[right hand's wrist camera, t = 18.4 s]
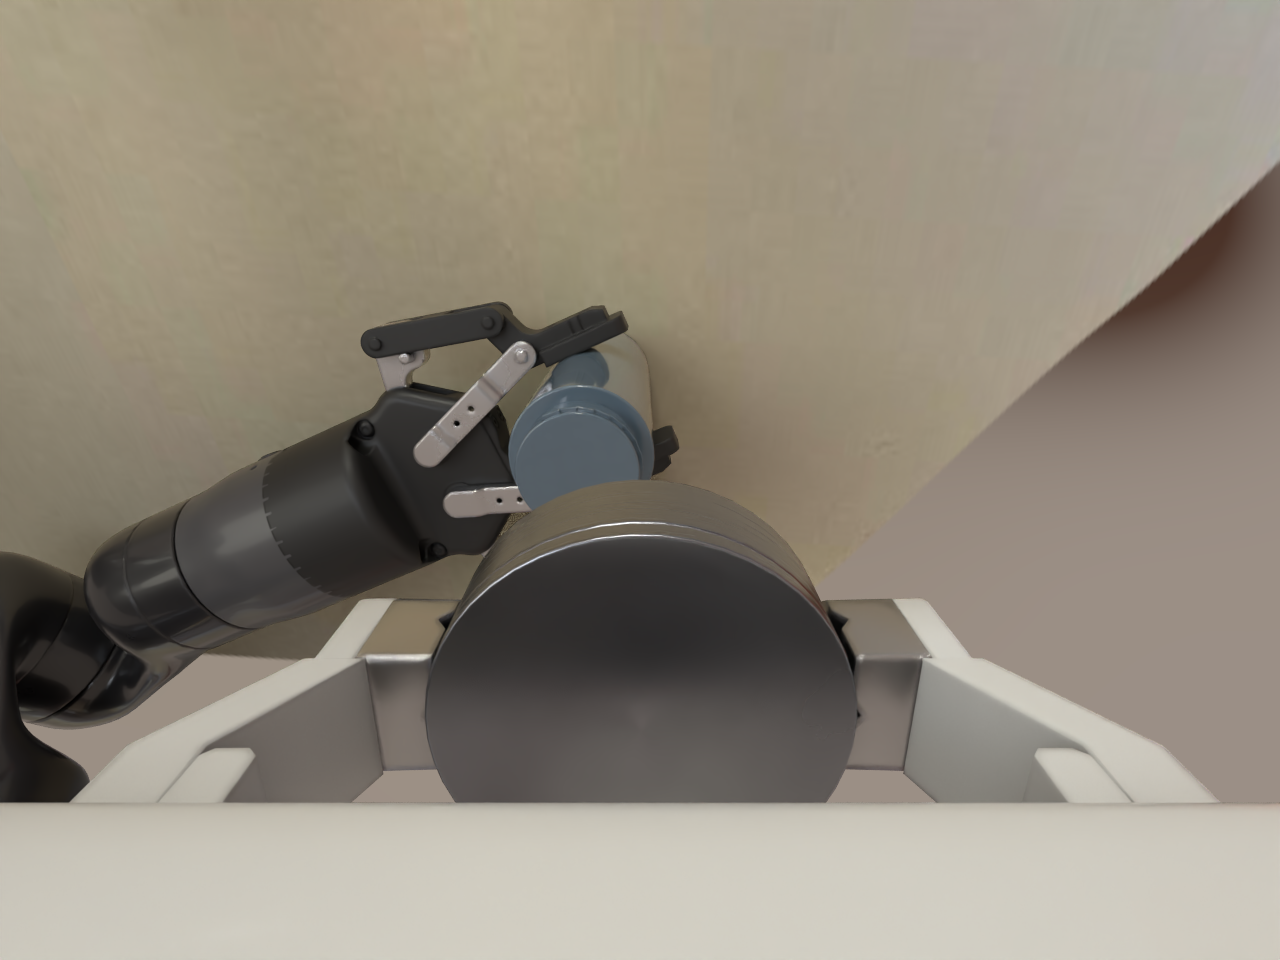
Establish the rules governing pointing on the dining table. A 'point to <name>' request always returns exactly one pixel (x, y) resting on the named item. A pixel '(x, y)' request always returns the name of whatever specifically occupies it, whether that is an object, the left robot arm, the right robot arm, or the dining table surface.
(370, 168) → the dining table surface
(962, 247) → the dining table surface
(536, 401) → the bottle
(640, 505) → the lid
